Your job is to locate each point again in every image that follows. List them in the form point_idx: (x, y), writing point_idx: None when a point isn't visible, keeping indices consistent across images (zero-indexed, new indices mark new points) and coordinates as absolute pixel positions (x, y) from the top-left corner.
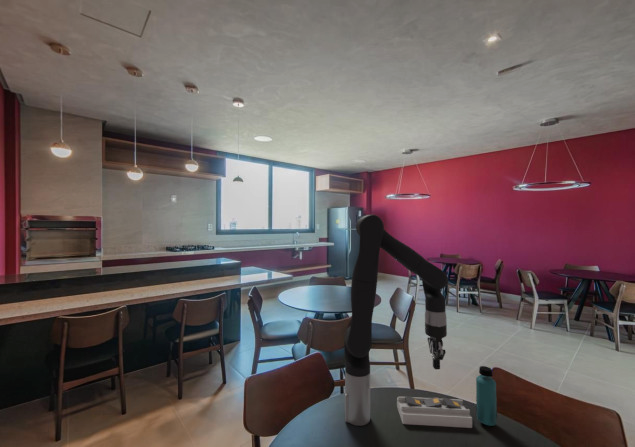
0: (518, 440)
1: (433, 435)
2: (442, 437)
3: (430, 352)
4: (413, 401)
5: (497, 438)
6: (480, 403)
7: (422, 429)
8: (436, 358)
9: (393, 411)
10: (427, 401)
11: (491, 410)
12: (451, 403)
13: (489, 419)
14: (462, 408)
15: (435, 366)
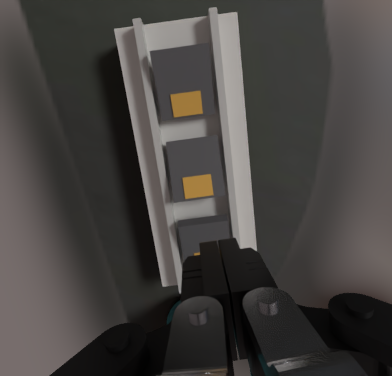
0: None
1: (95, 146)
2: (94, 173)
3: (347, 302)
4: (177, 82)
5: (137, 317)
6: None
7: (115, 114)
8: (64, 366)
9: (194, 7)
10: (201, 149)
11: None
12: (197, 242)
13: None
14: None
15: (191, 264)
